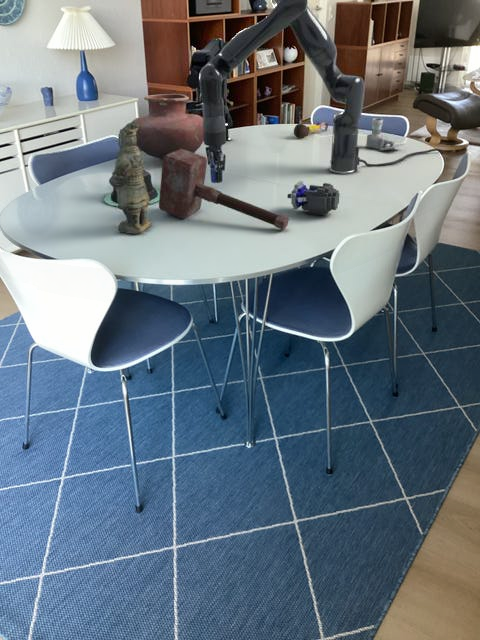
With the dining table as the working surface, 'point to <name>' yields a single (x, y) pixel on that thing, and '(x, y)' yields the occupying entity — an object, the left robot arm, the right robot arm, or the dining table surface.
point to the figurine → (307, 129)
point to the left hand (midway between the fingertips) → (205, 124)
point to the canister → (213, 175)
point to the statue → (131, 182)
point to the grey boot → (379, 137)
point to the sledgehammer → (200, 190)
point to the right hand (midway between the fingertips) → (216, 179)
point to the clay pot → (168, 126)
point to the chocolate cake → (152, 192)
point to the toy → (315, 198)
